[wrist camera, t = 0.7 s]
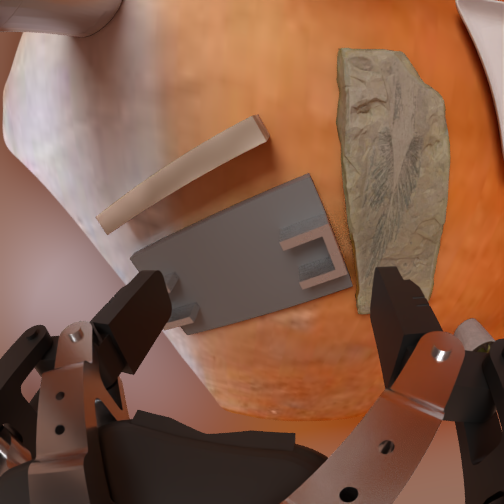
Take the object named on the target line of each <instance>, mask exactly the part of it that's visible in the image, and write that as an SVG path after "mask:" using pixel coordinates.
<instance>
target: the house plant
mask: <svg viewBox="0 0 504 504" xmlns="http://www.w3.org/2000/svg"><path fill="white" fill-rule="evenodd" d="M454 336H456V337H457V338H458V339H459V340H460V341H461V342H462V344H463V346H464V349H465V350H468V351H476V352H485V353H488V351H489V349H490V347H491V345H492V344H493V342H495V340H494V339H493V338H492V336H491V335H490V334H489V333H488V332H487V331H486V330H485V329H484V328H483V327H482V325H481V324H480V323H479V322H478V321H477V320H476V319H468V320H466V321H464V322H463V323H462V324H461V325H460V326H459V327H458V328H457V329H456V331H455V333H454Z"/></svg>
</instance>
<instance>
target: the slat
mask: <svg viewBox="0 0 504 504" xmlns="http://www.w3.org/2000/svg"><path fill="white" fill-rule="evenodd" d="M269 137H270V135H269V133H268V131H267V129H266V128H265V126H264V124H263V122H262V120H261V119H260V117H259V115H253V116H251V117H249V118H247V119H245V120H243V121H241V122H239V123H237V124H236V125H234V126H232V127H230V128H228V129H226V130H225V131H223V132H221V133H219V134H217V135H216V136H214V137H212V138H211V139H209V140H207V141H205V142H204V143H202V144H200V145H199V146H197V147H195V148H194V149H192V150H190V151H189V152H187V153H186V154H184V155H182V156H181V157H179V158H178V159H176V160H175V161H173V162H171V163H170V164H168V165H167V166H165V167H164V168H162V169H161V170H159V171H158V172H156V173H155V174H153V175H152V176H150V177H149V178H147V179H146V180H145V181H143V182H142V183H140V184H139V185H138V186H136V187H135V188H133V189H132V190H131V191H129V192H128V193H126V194H125V195H124V196H122V197H121V198H120V199H118V200H117V201H116V202H114V203H113V204H112V205H110V206H109V207H108V208H107V209H105V210H104V211H103V212H102V213H100V214H99V215H98V216H96V219H97V220H98V222H99V223H100V225H101V226H102V228H103V229H104V231H105V232H106V234H107V235H109V234H110V233H111V232H113V231H114V230H116V229H117V228H119V227H120V226H122V225H123V224H125V223H126V222H127V221H129V220H130V219H132V218H133V217H135V216H137V215H138V214H140V213H141V212H143V211H144V210H146V209H147V208H149V207H150V206H152V205H154V204H155V203H157V202H158V201H160V200H162V199H163V198H165V197H166V196H168V195H170V194H171V193H173V192H175V191H176V190H178V189H180V188H181V187H183V186H185V185H186V184H188V183H190V182H192V181H193V180H195V179H197V178H198V177H200V176H202V175H204V174H205V173H207V172H209V171H211V170H213V169H214V168H216V167H218V166H220V165H222V164H224V163H225V162H227V161H229V160H231V159H233V158H235V157H237V156H239V155H241V154H242V153H244V152H246V151H248V150H250V149H252V148H254V147H256V146H258V145H260V144H262V143H264V142H266V141H267V140H268V138H269Z"/></svg>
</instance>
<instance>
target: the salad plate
mask: <svg viewBox="0 0 504 504" xmlns="http://www.w3.org/2000/svg"><path fill="white" fill-rule="evenodd" d="M455 2H456V7H457V10H458V13H459V15H460V17H461V19H462V21H463V23H464V24H465V26H466V28H467V30H468V33H469V35H470V37H471V39H472V41H473V43H474V46H475V48H476V50H477V53H478V55H479V58H480V60H481V63H482V66H483V68H484V71H485V74H486V77H487V80H488V83H489V87H490V90H491V94H492V97H493V101H494V106H495V110H496V115H497V120H498V126H499V132H500V139H501V146H502V153H503V159H504V2H501V1H495V0H456V1H455Z"/></svg>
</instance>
